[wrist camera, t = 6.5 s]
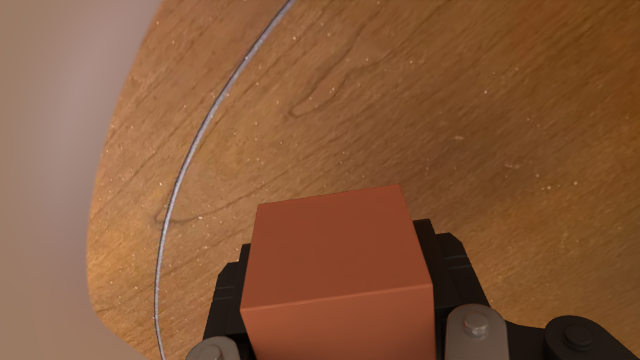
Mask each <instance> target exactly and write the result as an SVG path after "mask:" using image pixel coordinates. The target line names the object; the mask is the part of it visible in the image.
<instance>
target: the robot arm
mask: <svg viewBox="0 0 640 360" xmlns="http://www.w3.org/2000/svg"><path fill="white" fill-rule="evenodd" d="M412 222H413V225H414V228H415V231H416V234H417V237H418V241H419V244H420V247H421V250H422V253H423V256H424V259H425V262H426V265H427V268H428V271H429V274H430V277H431V281H432V284H433V297H434V316H435V335H436V354H437V360H640V359H639V358H638V357H636V356H635V355H634V354H633V353H632V352H631V351H629V350H628V349H627V348H626V347H625V346H624V345H622V344H621V343H620V342H619V341H618V340H617V339H615V338H614V337H613V336H612V335H611V334H610V333H608V332H607V331H606V330H605V329H604V328H602V327H601V326H600V325H598V324H597V323H595V322H593V321H591V320H589V319H586V318H583V317H579V316H572V315H567V316H560V317H556V318H554V319H552V320H551V321H550V322H549V323H548V324H547V325H546V327H545V329H543V328H535V327H528V326H522V325H517V324H514V323H511V322H509V321H507V320H505V319H503V317H502V316H501V315H500V314H499V313H498V312H497V311H495V310H494V309H492V308H491V306H490V305H489V303H488V300H487V298H486V296H485V294H484V291H483V289H482V287H481V285H480V283H479V280H478V278H477V276H476V274H475V271H474V269H473V267H472V265H471V263H470V260H469V258H468V257H467V254H466V251H465V249H464V247H463V245H462V242H460V241H459V240H458V239H457V238H456V237H454V236H453V235H452V234H451V233H450V232H449V233H442V234H435V232H434V229H433V227H432V224H431V221H430V219H429V218H428V219H421V220H413V221H412ZM250 247H251V243H248V244H243V245H242V248H241V253H240V258H239V261H238V262H231V263H227V265H226V266H225V267H224V269H223V270H222V271H221V273H220V274H219V275H218V279H217V283H216V287H215V291H214V295H213V302H212V303H211V307H210V311H209V315H208V320H207V324H206V328H205V332H204V336H203V340H202V341H201V342H200V343H198V344H197V345H196V346H194V347H193V348H192V349H191V351H190V352H189V353H188V355H187V356H186V359H185V360H257V359H256V356H255V353H254V351H253V348H252V345H251V342H250V339H249V336H248V333H247V330H246V327H245V324H244V322H243V319H242V316H241V313H240V305H241V300H242V294H243V288H244V282H245V276H246V271H247V265H248V259H249V253H250Z"/></svg>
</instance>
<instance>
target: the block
mask: <svg viewBox="0 0 640 360" xmlns="http://www.w3.org/2000/svg"><path fill="white" fill-rule="evenodd" d="M240 313H241V316H242V319H243V322H244V324H245V327H246V330H247V333H248V336H249V339H250V342H251V345H252V348H253V351H254V353H255V356H256V359H257V360H437V354H436V335H435V316H434V297H433V284H432V281H431V277H430V274H429V271H428V268H427V265H426V262H425V259H424V256H423V253H422V250H421V247H420V244H419V241H418V237H417V234H416V231H415V228H414V225H413V222H412V219H411V216H410V213H409V210H408V207H407V204H406V200H405V197H404V194H403V191H402V188H401V185H400V184H394V185H387V186H380V187H374V188H367V189H360V190H353V191H346V192H340V193H333V194H326V195H319V196H312V197H306V198H299V199H292V200H285V201H278V202H272V203H265V204H259V205H258V207H257V213H256V219H255V224H254V230H253V236H252V242H251V247H250V253H249V259H248V265H247V271H246V276H245V282H244V288H243V294H242V300H241V305H240Z"/></svg>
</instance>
